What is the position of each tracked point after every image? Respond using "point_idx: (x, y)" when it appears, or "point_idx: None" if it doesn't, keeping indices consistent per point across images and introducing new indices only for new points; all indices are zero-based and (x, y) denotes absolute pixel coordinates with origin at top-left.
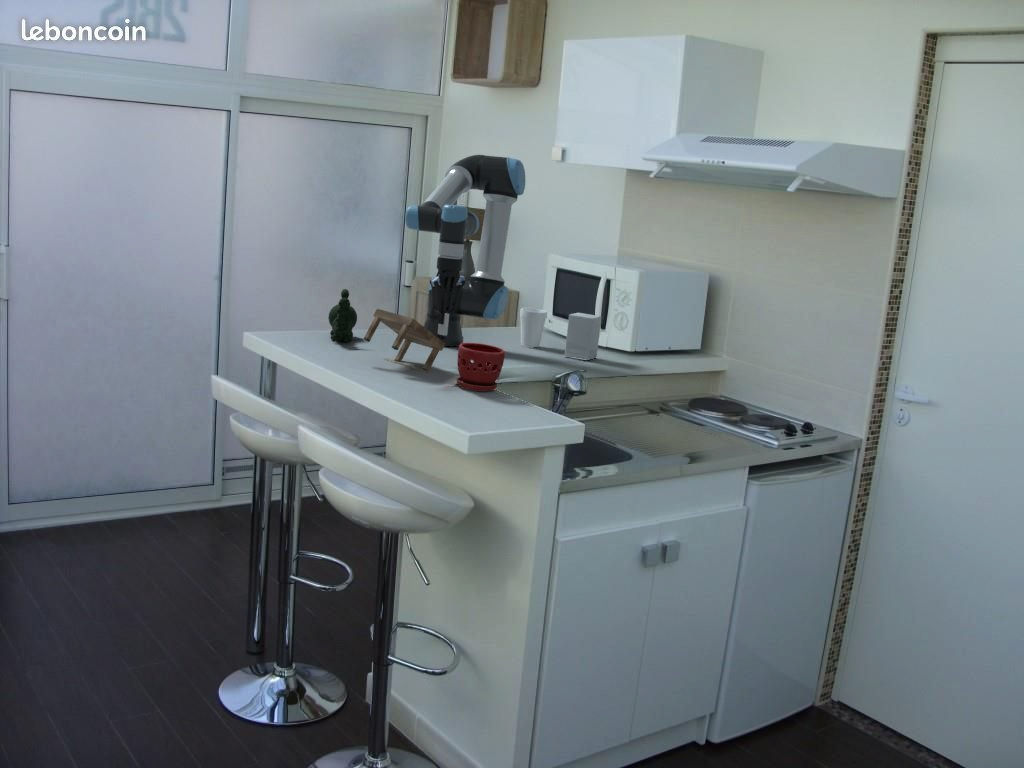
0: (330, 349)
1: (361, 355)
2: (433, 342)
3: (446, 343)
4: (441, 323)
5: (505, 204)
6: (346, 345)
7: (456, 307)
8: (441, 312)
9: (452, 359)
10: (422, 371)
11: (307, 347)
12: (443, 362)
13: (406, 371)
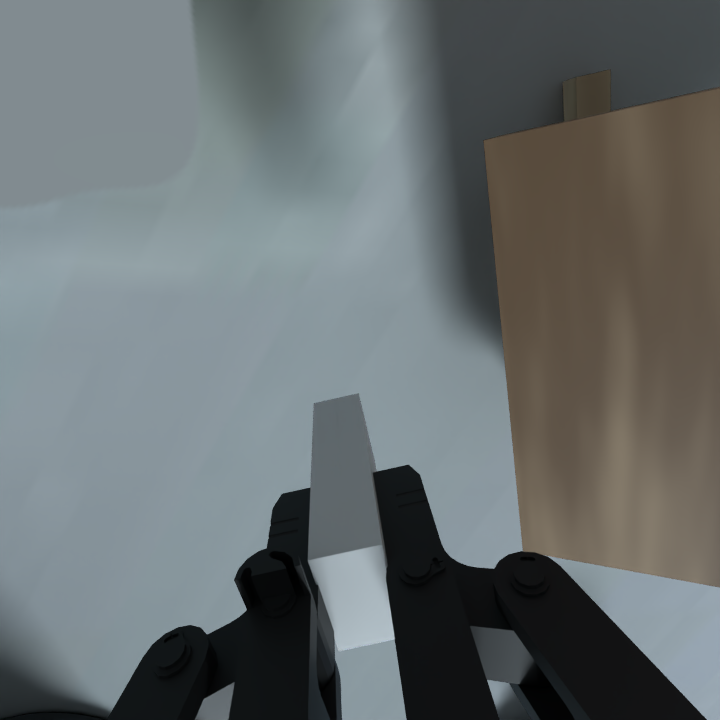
0: (646, 647)
1: None
2: (664, 99)
3: None
4: (402, 471)
5: None
6: None
7: (127, 705)
8: (454, 573)
9: (160, 489)
10: (608, 106)
11: (709, 669)
12: (254, 425)
13: None
